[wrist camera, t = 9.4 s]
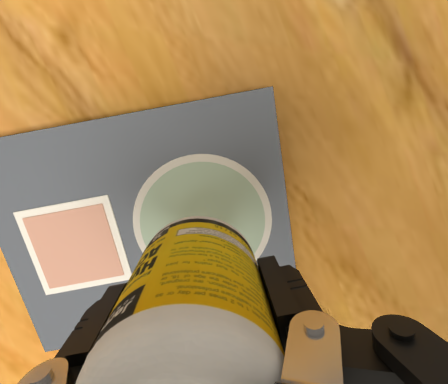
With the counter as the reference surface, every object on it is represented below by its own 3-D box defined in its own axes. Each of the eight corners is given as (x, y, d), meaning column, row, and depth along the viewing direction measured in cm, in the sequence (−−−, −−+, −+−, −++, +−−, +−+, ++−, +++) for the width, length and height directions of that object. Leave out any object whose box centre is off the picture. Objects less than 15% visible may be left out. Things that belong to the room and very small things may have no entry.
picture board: (268, 88, 18) (273, 85, 16) (295, 295, 22) (301, 306, 20) (-27, 144, 18) (-47, 145, 16) (54, 339, 22) (43, 354, 20)
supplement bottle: (157, 199, 12) (-26, 456, 3) (268, 229, 13) (430, 523, 3) (132, 299, 13) (-56, 717, 4) (235, 322, 14) (284, 731, 5)
